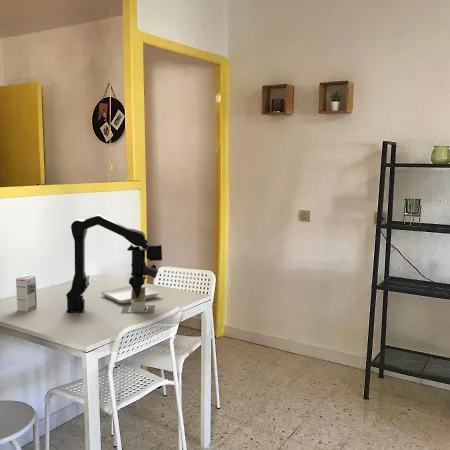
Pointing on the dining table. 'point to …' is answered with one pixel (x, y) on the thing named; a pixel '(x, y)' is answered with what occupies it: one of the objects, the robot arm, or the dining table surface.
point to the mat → (148, 310)
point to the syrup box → (26, 293)
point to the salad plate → (126, 294)
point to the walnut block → (141, 296)
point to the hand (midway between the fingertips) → (138, 295)
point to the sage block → (138, 305)
